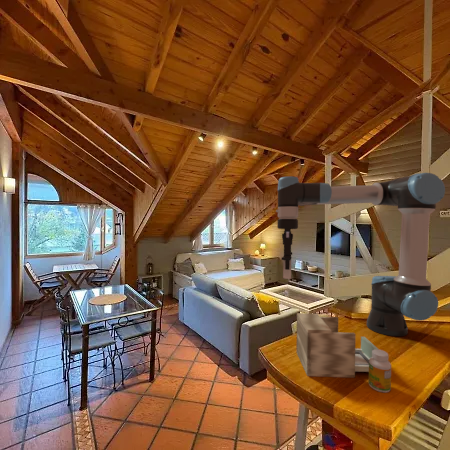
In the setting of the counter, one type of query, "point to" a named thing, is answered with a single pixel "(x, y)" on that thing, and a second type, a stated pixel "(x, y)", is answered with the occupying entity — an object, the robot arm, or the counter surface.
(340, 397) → the counter surface
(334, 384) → the counter surface
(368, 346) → the tray
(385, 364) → the supplement bottle
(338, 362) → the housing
